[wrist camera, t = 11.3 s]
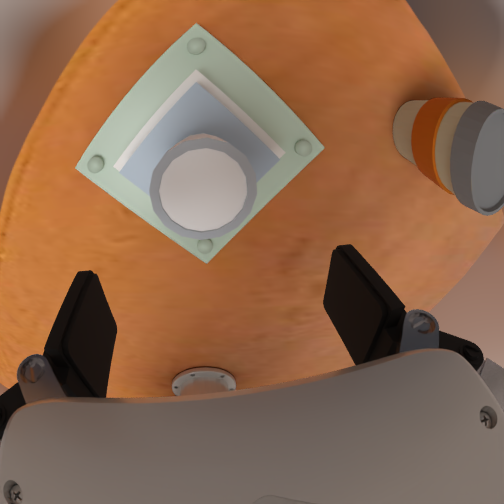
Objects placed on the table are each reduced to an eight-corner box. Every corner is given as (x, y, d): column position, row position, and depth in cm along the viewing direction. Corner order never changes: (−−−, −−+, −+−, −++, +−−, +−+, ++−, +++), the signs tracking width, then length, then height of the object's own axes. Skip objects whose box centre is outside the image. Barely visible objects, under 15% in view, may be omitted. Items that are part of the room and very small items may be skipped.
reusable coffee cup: (394, 73, 27) (486, 83, 14) (450, 108, 30) (529, 134, 18) (371, 159, 33) (453, 205, 20) (430, 181, 36) (501, 225, 24)
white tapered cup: (255, 147, 23) (277, 167, 17) (218, 213, 26) (227, 254, 20) (182, 113, 20) (176, 119, 14) (148, 185, 23) (133, 219, 17)
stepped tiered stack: (206, 259, 36) (209, 294, 30) (78, 165, 26) (52, 185, 21) (321, 146, 31) (350, 160, 25) (196, 25, 21) (196, 6, 15)
